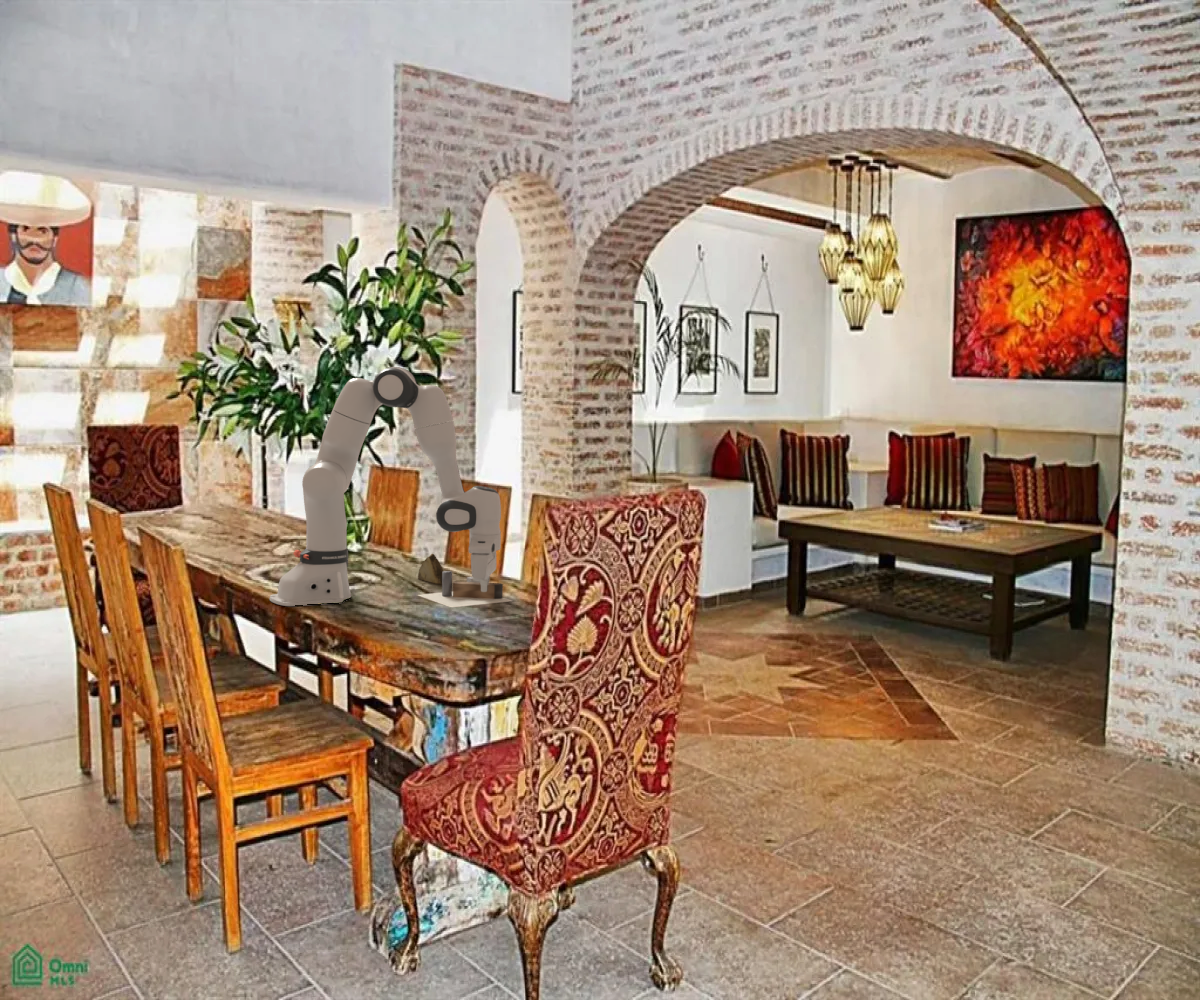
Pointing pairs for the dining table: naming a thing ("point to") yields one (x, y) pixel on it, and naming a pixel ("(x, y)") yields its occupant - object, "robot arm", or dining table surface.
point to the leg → (477, 590)
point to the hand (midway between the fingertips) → (484, 591)
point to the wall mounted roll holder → (450, 601)
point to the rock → (431, 570)
